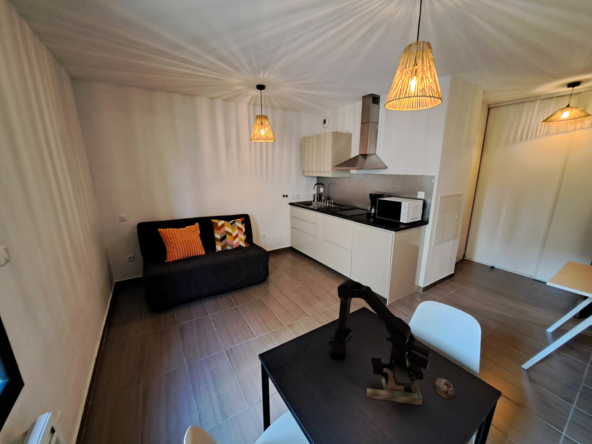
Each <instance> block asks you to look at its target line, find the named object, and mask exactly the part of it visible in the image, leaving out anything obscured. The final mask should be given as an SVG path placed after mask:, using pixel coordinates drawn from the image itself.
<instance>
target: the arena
mask: <svg viewBox="0 0 592 444" xmlns="http://www.w3.org/2000/svg"><path fill="white" fill-rule="evenodd" d="M406 362H407V363H408V360H406ZM380 380H381V384H382V385H381V386H382V388H383V389H376V388H369V387H366V398H367V399H374V400H381V401H387V402H388V401H389V402H395V403H396V402H397V403H404V404H410V405H419V406H422V403H423V396H422V393H421V391H420V389H419V386H418V383H417V381H416V380H417V379H415V383H413V385H409V386H410V389H411V391H412V392H408V391H407V392H406V391H405V389H404V390H403V392H401V391H393V390H392V391H388V389H387V385H386V381H385V378H381V379H380Z"/></svg>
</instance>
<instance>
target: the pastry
mask: <svg viewBox="0 0 592 444" xmlns="http://www.w3.org/2000/svg"><path fill="white" fill-rule="evenodd" d="M433 387H434V389H435V391H436V394H438V395H440V397H443V398H444V399H446V400H453V399H455V397H456V396H457V395H456V388H455V386H454V385H453V384H452V383H451V381H449V380H448V379H446V378H443V377H436V378H435V379H434V382H433Z"/></svg>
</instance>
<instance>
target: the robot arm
mask: <svg viewBox="0 0 592 444" xmlns="http://www.w3.org/2000/svg"><path fill="white" fill-rule="evenodd" d="M336 288H337V291H336V292H337V296H338V299H339V301H340V302H339V311H338V312H339V313H338V322H337V328H336V330H335V332H334V334H333V336H332V337H331V338H330V339H329V340H328V341H327V342H328V345H329V347H330V358H331V359H334V360H335V359H336V360H345V357H346V354H347V344H348V343H349V342H350V340H351V339H352V338H353V330H352V329H350V326H349V324H350V316H351V315H350V314H351V308H352V307H351V305H352V300H353V299H362V300H364V302H365V303H366V304H367V305H368V306H369V308H371V309H372V311H373V313H375V314H376V315H377V317H378V318H379V319H380V320H381V321H382V322H383V324H384V325H385V328H386V331H387V332H388V335H387V336H386V337H385V340H386V341H387V342H389V343H390V348H389V349H388V350H389V351H388V352H389V356H388V358H387V359H388V363H384V362H383V361H382V358H381V357H371V358H370V366H371V371H372V374H374V375H377V376H381V377H384V378H383V379H385V381H386V384H387V383H388V377H389V376H388V372H387V371H391V372H393V377H394V382H395V384H396V385H397V386H404V388H405V387H406V388H407V387H409V386H410V385H413V383H415V380H420V381H423V380H424V378H425V377H424V376H425V373H424V371H423V370H425V371H428V369H429V365H430V363H431V362H430V360H431V350H428V349H426V348H423V347H421V346H419V345H416V341H417V339H416V337H415V335H414V334H413V332H412V328H411V326H410V325H409V324H408V323H407V322H405V321H404V320H403V319H402V318H401V317H399V316H397V315H395V314H394V313H393V312H392V311H391V310H390V309H389V307H387V306H386V305H385V303H384V302H383V301H382V300H381V298H379V297H378V296H377V295H376V294H375V292H374V291H373V289H372V288H371V286H369V285H365V284H363V283H361V282H359V281H354V280H353V279H345V280H344V281H343V282H341V283H339V285H337V287H336ZM408 338H409V339H408ZM407 340H408V341H407ZM406 342H407V343H406ZM407 352H408V354H407ZM406 354H407V355H406ZM406 361H407V362H408V363H407V362H406Z"/></svg>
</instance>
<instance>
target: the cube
mask: <svg viewBox="0 0 592 444" xmlns="http://www.w3.org/2000/svg"><path fill="white" fill-rule="evenodd" d="M387 372H388V376H389V377H388V383H387V384H386V385H387V389H388V391H392V390H393V391H401V392H403V390H404V391H405V389H404V388H405V386H397V385H396V384H395V382H394V377H393V372H391V371H387Z"/></svg>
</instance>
